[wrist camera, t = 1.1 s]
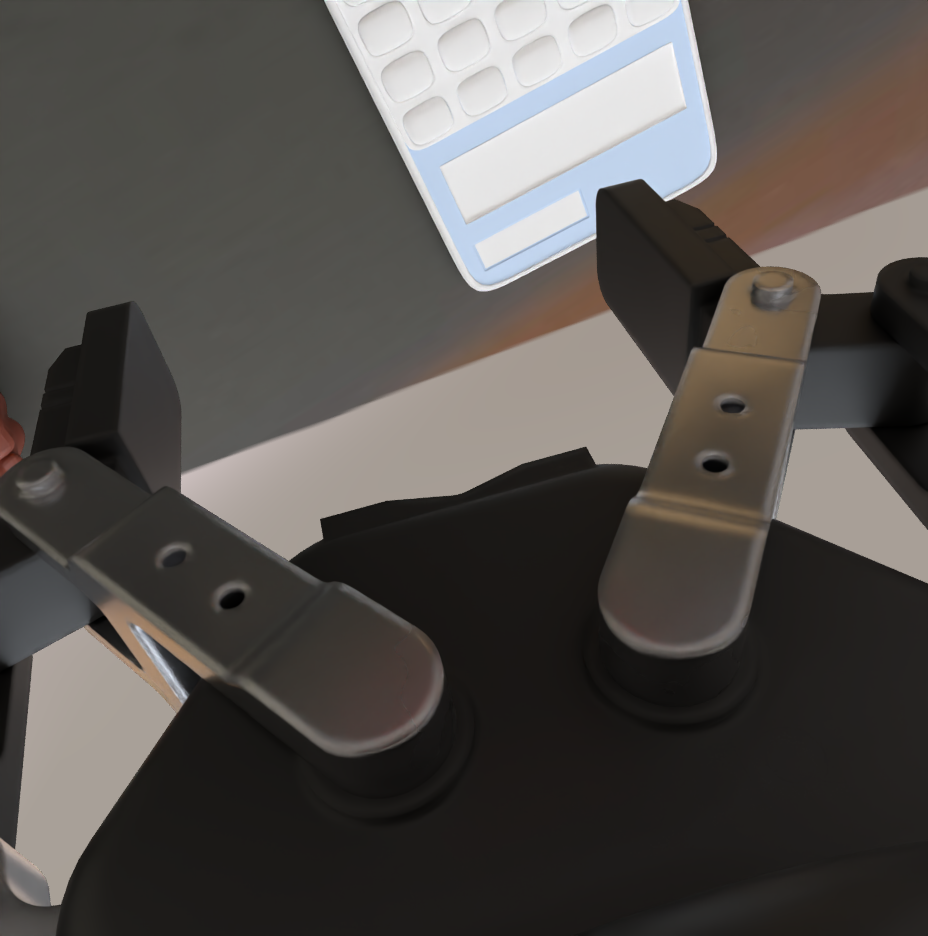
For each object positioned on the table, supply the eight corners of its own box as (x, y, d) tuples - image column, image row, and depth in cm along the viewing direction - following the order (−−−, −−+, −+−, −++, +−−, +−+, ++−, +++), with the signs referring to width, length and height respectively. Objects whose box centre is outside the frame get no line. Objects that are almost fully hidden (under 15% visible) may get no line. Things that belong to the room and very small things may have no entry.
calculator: (596, -380, 27) (618, -386, 25) (710, 161, 40) (729, 176, 39) (241, -166, 28) (243, -161, 27) (467, 288, 42) (476, 306, 40)
